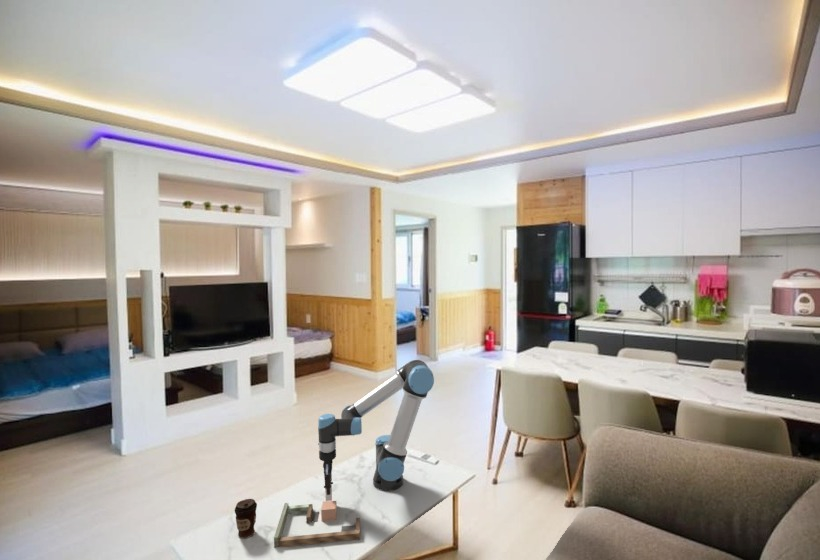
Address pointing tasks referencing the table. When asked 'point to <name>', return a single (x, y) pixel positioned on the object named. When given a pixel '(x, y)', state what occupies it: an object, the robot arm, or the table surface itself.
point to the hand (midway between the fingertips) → (328, 499)
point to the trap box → (344, 535)
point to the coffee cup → (246, 517)
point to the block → (328, 510)
